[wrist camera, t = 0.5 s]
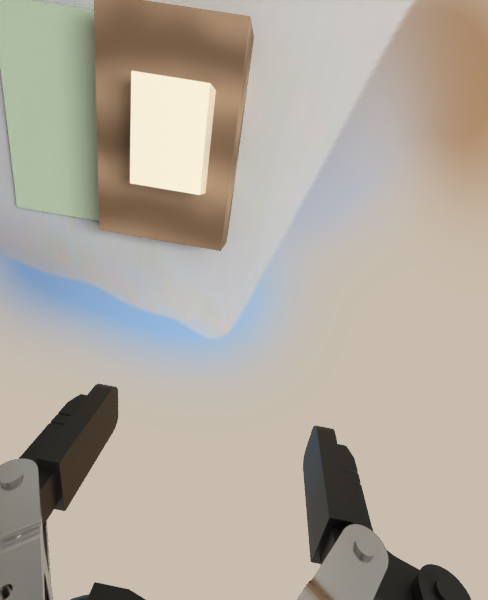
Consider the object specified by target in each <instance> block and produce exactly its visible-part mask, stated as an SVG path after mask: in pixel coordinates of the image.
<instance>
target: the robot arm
mask: <svg viewBox="0 0 488 600" xmlns="http://www.w3.org/2000/svg"><path fill="white" fill-rule="evenodd" d="M117 420H118V389H117V388H116V387H112V386H107V385H102V384H97V385H95V387H94V388H93V389H92V390H91V391H90V393H89V394H88V395H82V394H81V395H79V396H77V397H75V398H74V399H72V400H71V401H69V402H68V403H67V404H66V405H65V406H64V407H63V408H62V409H61V411H60V412H59V414H58V415H56V416H55V418H54V419H53V420H52V421H51V423H50V424H48V426H47V427H46V428H45V429H44V430H43V431H42V433H41V434H40V435H39V436H38V437H37V438H36V440H35V441H34V442H33V443H32V444H31V445H30V446H29V448H28V449H27V450H26V451H25V452H24V453H23V455H22V456H21V457H20V458H19V459H15V460H11V461H8V462H6V463H4V464H2V465H0V600H53V596H52V588H51V576H50V563H49V547H48V533H47V521H46V520H47V519H48V517H49V516H50V514H51V513H52V511H53V509H58V510H63V511H65V510H66V509H67V507H68V505H69V504H70V502H71V500H72V499H73V497H74V495H75V494H76V492H77V490H78V489H79V487H80V486H81V484H82V482H83V481H84V479H85V477H86V476H87V474H88V472H89V471H90V469H91V467H92V466H93V464H94V462H95V461H96V459H97V457H98V456H99V454H100V452H101V451H102V449H103V448H104V446H105V444H106V443H107V441H108V439H109V438H110V436H111V434H112V433H113V430H114V429H115V426H116V423H117ZM303 463H304V464H303V470H304V483H305V496H306V507H307V520H308V531H309V545H310V557H311V562H314V563H319V564H321V566H320V568H319V570H318V571H317V573H316V574H315V576H314V577H313V579H312V580H311V581H309V583H308V584H307V585H306V587H305V588H304V590H303V591H302V593H301V594H300V596H299V598H298V599H297V600H471V599H470V596H469V594H468V593H467V591H466V589H465V588H464V587H463V585H462V584H461V583H460V582H459V580H458V579H457V578H456V577H455V576H454V575H452V574H451V573H450V572H449V571H447V570H445V569H444V568H442V567H440V566H437V565H432V564H430V565H425V566H423V567H422V568H421V570H419V569H416V568H415V567H413V566H411V565H409V564H408V563H406V562H404V561H402V560H400V559H398V558H397V557H395V556H393V555H392V554H391V553H390V552H388V551H387V550H386V548H385V546H384V544H383V543H382V541H381V540H380V538H379V537H378V536H377V535H376V534H375V533H374V532H373V529H372V526H371V523H370V519H369V515H368V511H367V507H366V503H365V499H364V495H363V491H362V487H361V485H360V479H359V475H358V474H357V467H356V464H355V460H354V457H353V456H352V454H351V453H350V451H349V450H348V448H347V447H346V446H344V445H339V444H337V440H336V435H335V431H334V430H333V429H330V428H325V427H319V426H314V427H313V429H312V432H311V436H310V438H309V441H308V445H307V448H306V451H305V455H304V462H303ZM71 600H145V599H143V598H142V597H140V596H138V595H137V594H135V593H134V592H132V591H130V590H129V589H123V588H118V587H114V586H110V585H104V584H100V583H94V585H93V588H92V590H91V592H90V594H89V595H84V596H80V597H77V598H73V599H71Z"/></svg>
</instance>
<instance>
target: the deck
mask: <svg viewBox="0 0 488 600" xmlns="http://www.w3.org/2000/svg"><path fill="white" fill-rule="evenodd" d="M94 23H95V66H96V110H97V153H98V197H99V230H104V231H110V232H115V233H121V234H127V235H133V236H138V237H144V238H150V239H156V240H161V241H167V242H173V243H179V244H184V245H190V246H196V247H202V248H207V249H213V250H219V251H221V249H222V248H223V247H224V245H225V244H226V242H227V235H228V227H229V220H230V212H231V205H232V197H233V190H234V182H235V174H236V167H237V159H238V152H239V144H240V137H241V129H242V122H243V114H244V107H245V99H246V91H247V84H248V76H249V69H250V61H251V54H252V46H253V39H254V36H253V30H252V24H251V18H250V16H243V15H237V14H230V13H224V12H217V11H210V10H204V9H197V8H191V7H184V6H178V5H171V4H164V3H158V2H151V1H145V0H94ZM131 70H132V71H138V72H144V73H151V74H157V75H163V76H170V77H176V78H182V79H189V80H195V81H201V82H207V83H211V84H212V86H213V87H214V88H215V90H216V95H215V105H214V115H213V125H212V135H211V145H210V155H209V165H208V174H207V184H206V193H205V194H202V195H195V194H189V193H183V192H177V191H171V190H166V189H160V188H154V187H148V186H142V185H136V184H130V117H131Z"/></svg>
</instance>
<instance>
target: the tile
mask: <svg viewBox="0 0 488 600" xmlns="http://www.w3.org/2000/svg"><path fill="white" fill-rule="evenodd" d="M215 95H216V90H215V88H214V87H213V86H212V84H211V83H207V82H201V81H195V80H189V79H182V78H176V77H170V76H163V75H157V74H151V73H144V72H138V71H132V70H131V117H130V184H136V185H142V186H148V187H154V188H160V189H166V190H171V191H177V192H183V193H189V194H195V195H202V194H205V193H206V184H207V174H208V165H209V155H210V145H211V135H212V125H213V115H214V105H215Z"/></svg>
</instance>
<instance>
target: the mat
mask: <svg viewBox="0 0 488 600" xmlns="http://www.w3.org/2000/svg"><path fill="white" fill-rule="evenodd" d="M0 69H1V77H2V86H3V94H4V102H5V111H6V119H7V128H8V136H9V144H10V153H11V161H12V170H13V178H14V186H15V195H16V203H17V207H20V208H26V209H32V210H37V211H43V212H49V213H55V214H61V215H66V216H72V217H78V218H84V219H90V220H95V221H99V197H98V153H97V110H96V66H95V23H94V10H89V9H83V8H76V7H70V6H63V5H57V4H50V3H44V2H37V1H31V0H0Z"/></svg>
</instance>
